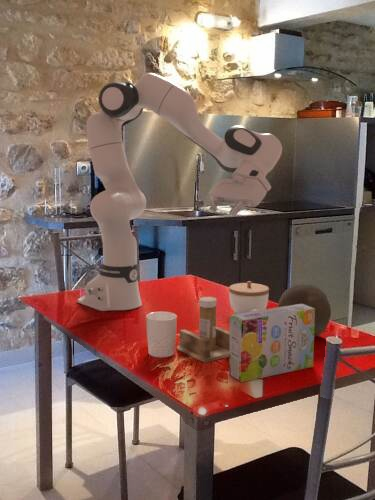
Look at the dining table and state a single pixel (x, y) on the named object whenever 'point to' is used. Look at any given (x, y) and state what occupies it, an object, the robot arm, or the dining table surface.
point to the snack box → (271, 341)
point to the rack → (205, 345)
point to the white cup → (161, 333)
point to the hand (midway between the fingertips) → (221, 212)
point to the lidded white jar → (248, 297)
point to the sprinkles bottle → (208, 320)
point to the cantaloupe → (309, 303)
